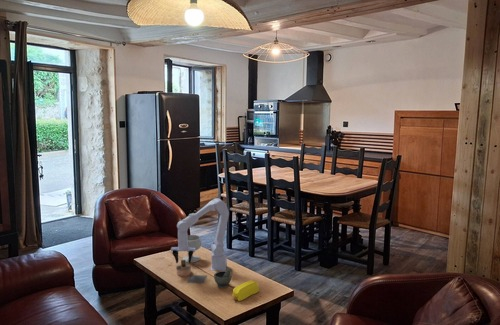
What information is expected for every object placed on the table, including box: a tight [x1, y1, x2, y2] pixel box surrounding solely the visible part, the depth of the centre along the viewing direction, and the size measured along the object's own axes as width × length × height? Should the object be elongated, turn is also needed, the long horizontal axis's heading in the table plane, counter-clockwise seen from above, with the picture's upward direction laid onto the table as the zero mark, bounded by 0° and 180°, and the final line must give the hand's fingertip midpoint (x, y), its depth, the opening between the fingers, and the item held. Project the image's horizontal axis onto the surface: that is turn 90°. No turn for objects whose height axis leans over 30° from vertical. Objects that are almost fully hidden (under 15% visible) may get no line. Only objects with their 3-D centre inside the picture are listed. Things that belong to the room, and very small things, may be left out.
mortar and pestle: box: [213, 267, 233, 289], centre depth 211 cm, size 11×9×12 cm
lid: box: [175, 259, 192, 270], centre depth 228 cm, size 9×9×4 cm
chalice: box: [181, 234, 202, 264], centre depth 250 cm, size 14×14×15 cm
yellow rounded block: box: [232, 279, 260, 302], centre depth 201 cm, size 18×7×8 cm
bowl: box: [175, 267, 192, 277], centre depth 229 cm, size 8×8×4 cm
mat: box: [186, 274, 208, 284], centre depth 220 cm, size 10×10×1 cm
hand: (183, 262), depth 228 cm, fingers open, 7 cm apart
